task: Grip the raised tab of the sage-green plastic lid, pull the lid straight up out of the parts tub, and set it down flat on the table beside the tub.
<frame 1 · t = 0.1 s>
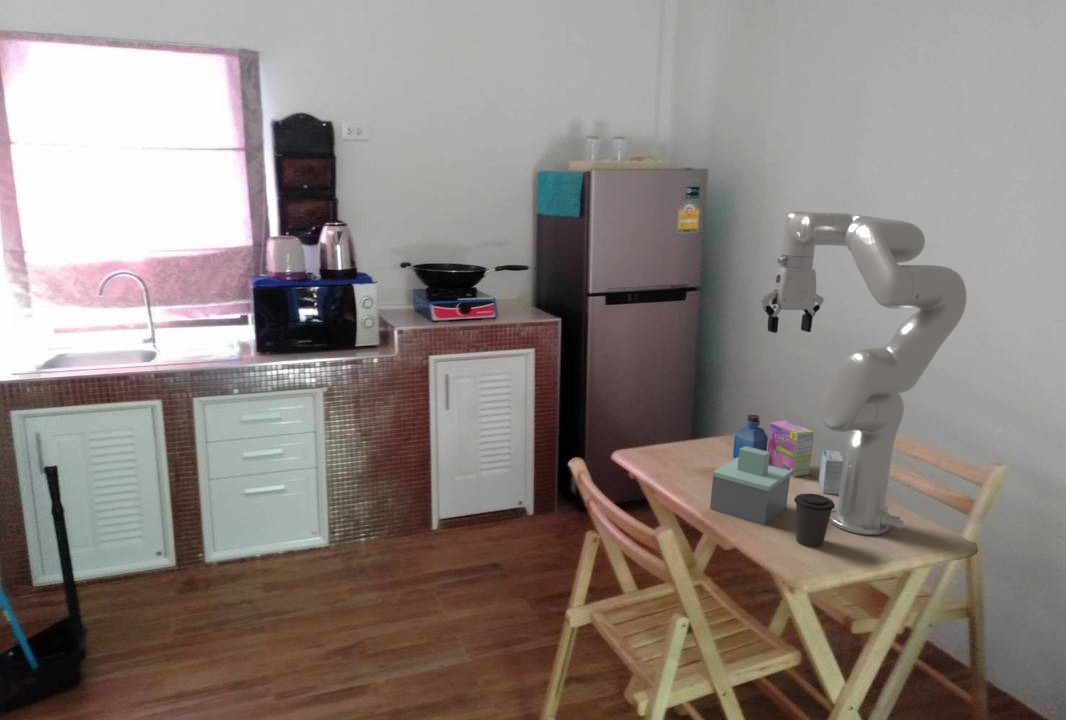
hand: (789, 331, 204), 37 cm above the table, tool pointing down, fingers open, 9 cm apart
coffee cup: (809, 542, 172), on the table
parts tub: (748, 508, 188), on the table
lid: (751, 479, 186), point 7 cm above the table, touching parts tub
box: (787, 470, 214), on the table
medicine box: (829, 489, 202), on the table
perfume bottle: (749, 459, 222), on the table
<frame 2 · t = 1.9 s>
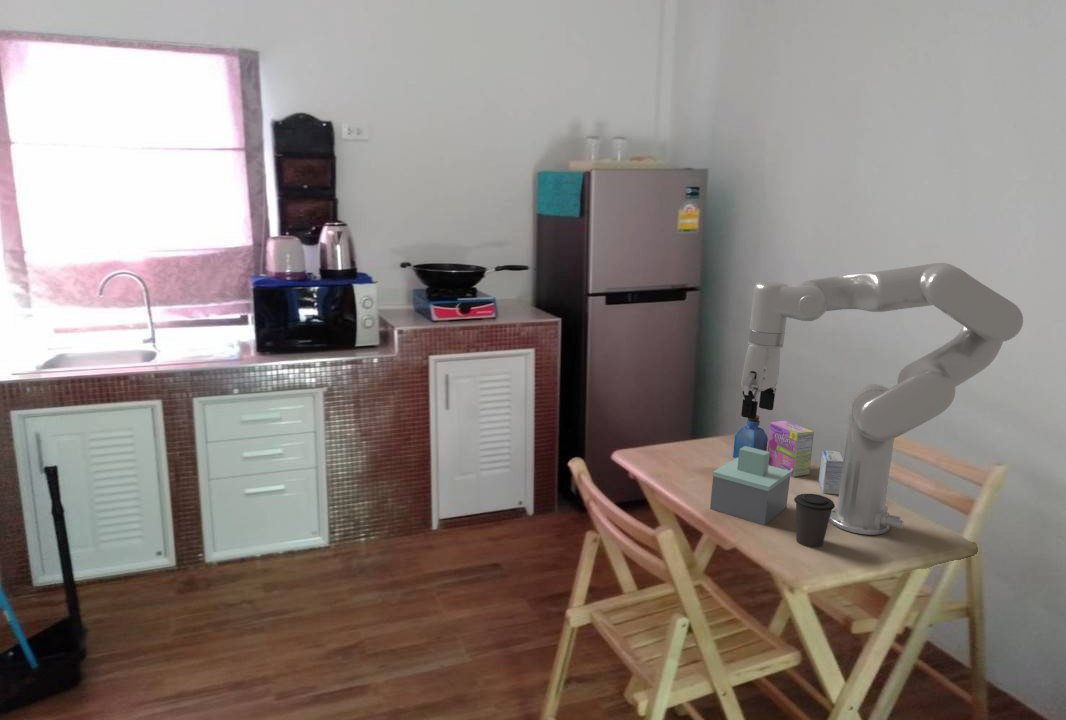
hand: (757, 413, 183), 23 cm above the table, tool pointing down, fingers open, 9 cm apart
nothing on the table moved.
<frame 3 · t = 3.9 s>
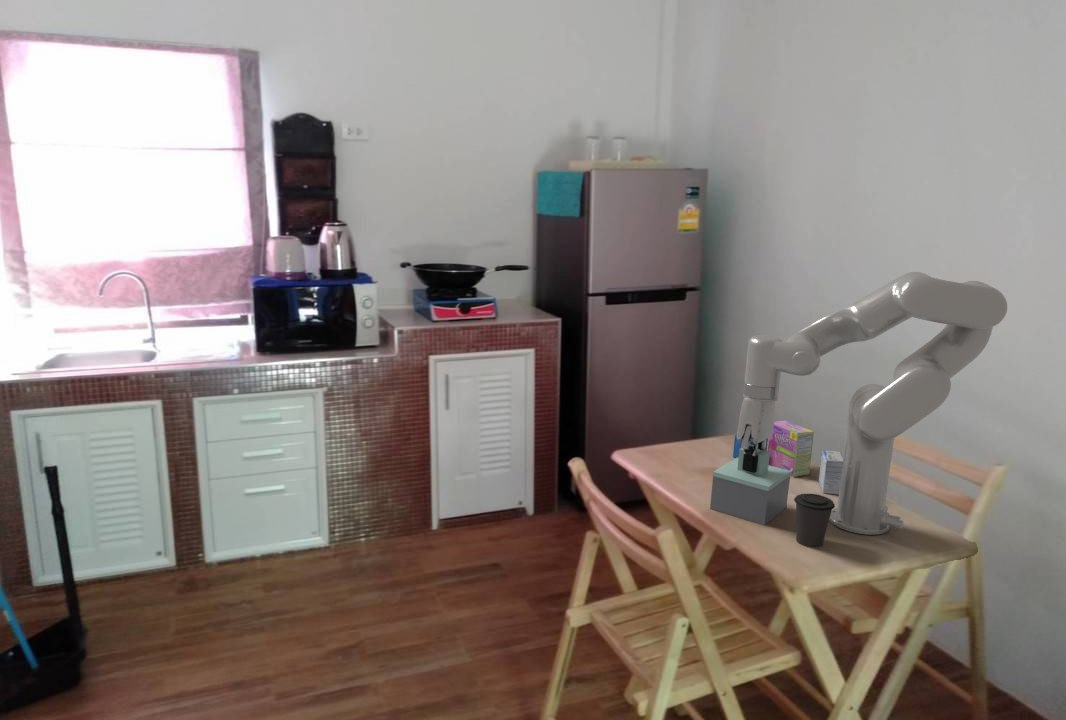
hand: (752, 468, 186), 10 cm above the table, tool pointing down, fingers closed on lid, 3 cm apart
lid: (751, 479, 186), point 7 cm above the table, touching gripper
everything else where it was.
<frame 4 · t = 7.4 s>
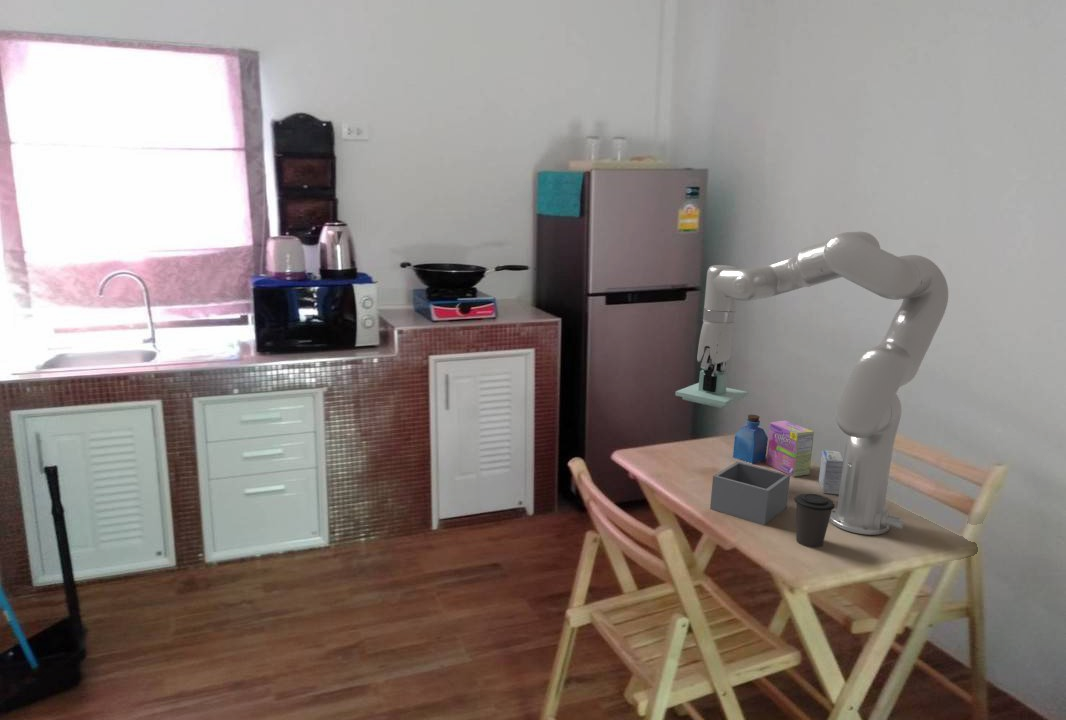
hand: (712, 389, 202), 23 cm above the table, tool pointing down, fingers closed on lid, 3 cm apart
lid: (711, 399, 203), point 20 cm above the table, touching gripper
everything else where it was.
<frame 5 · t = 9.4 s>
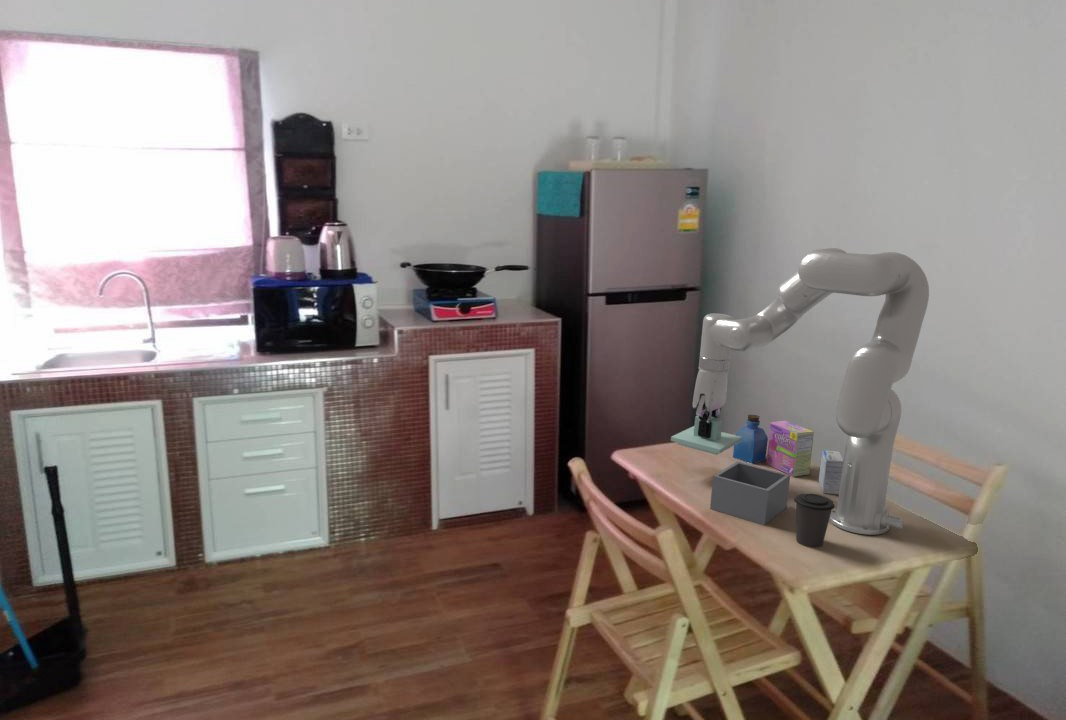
hand: (707, 434, 205), 11 cm above the table, tool pointing down, fingers closed on lid, 3 cm apart
lid: (706, 444, 205), point 8 cm above the table, touching gripper
everything else where it was.
when the fingers open (4 cm above the table, at t = 11.0 s): lid drops 2 cm, on the table.
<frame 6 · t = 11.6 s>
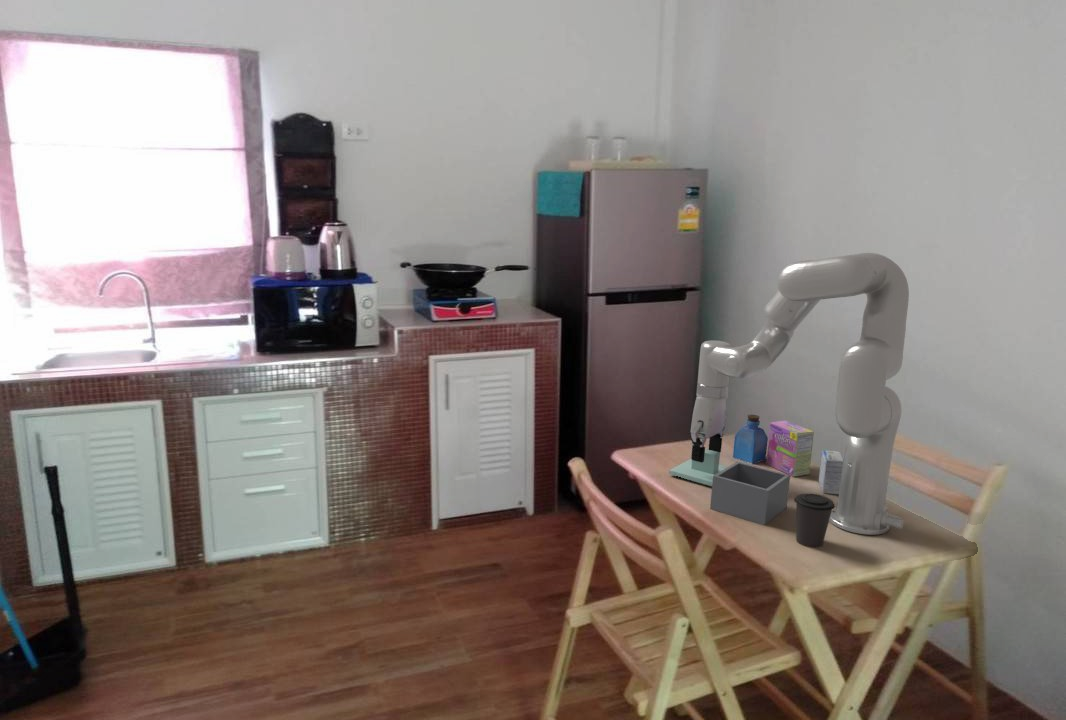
hand: (706, 456, 206), 5 cm above the table, tool pointing down, fingers open, 9 cm apart
lid: (704, 477, 207), on the table
everything else where it was.
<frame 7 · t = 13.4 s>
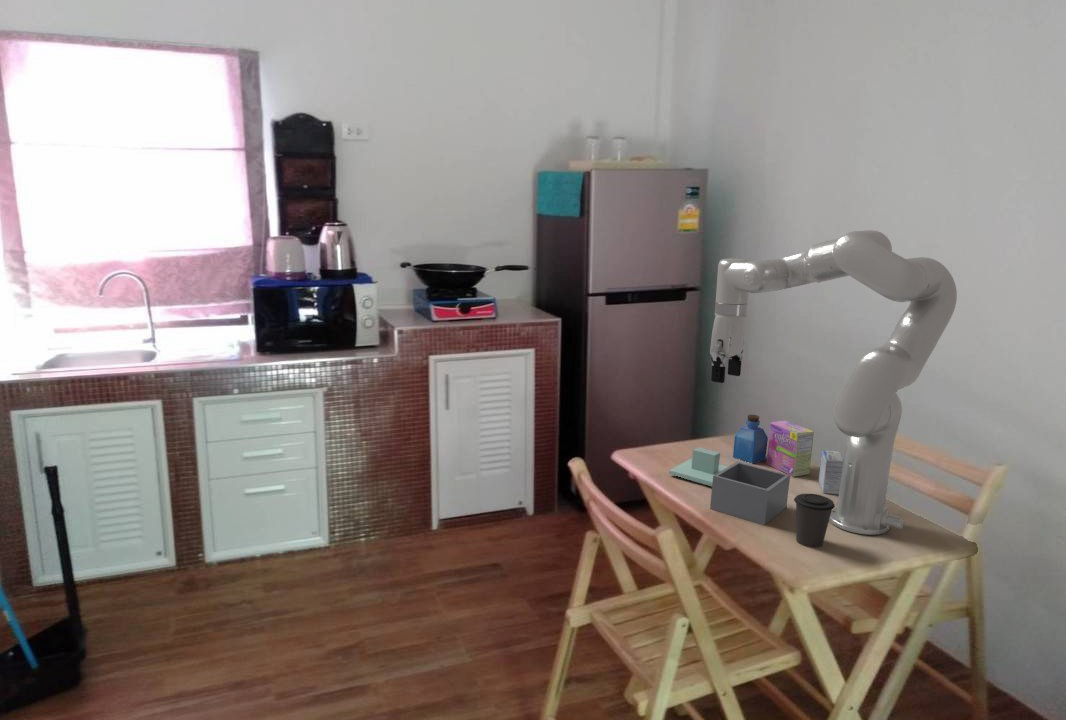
hand: (725, 378, 201), 26 cm above the table, tool pointing down, fingers open, 9 cm apart
nothing on the table moved.
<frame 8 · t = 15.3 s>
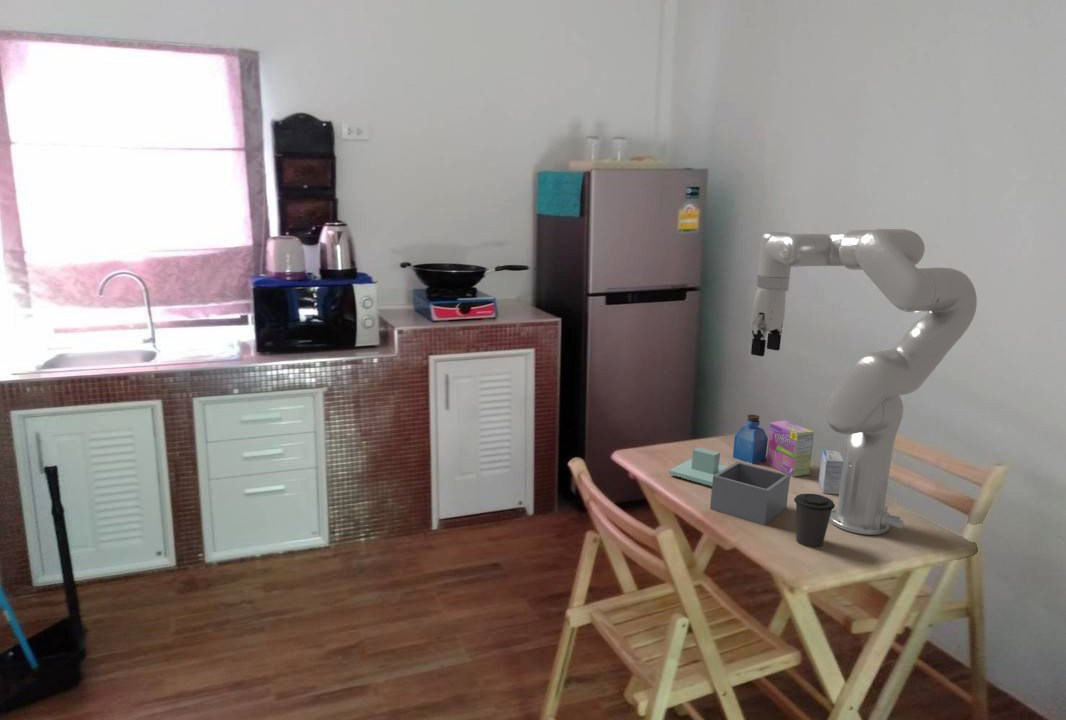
hand: (765, 352, 202), 32 cm above the table, tool pointing down, fingers open, 9 cm apart
nothing on the table moved.
at the end: lid inside the target area (0.1 cm from its centre), on the table; lid tilted 0°; the gripper is holding nothing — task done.
